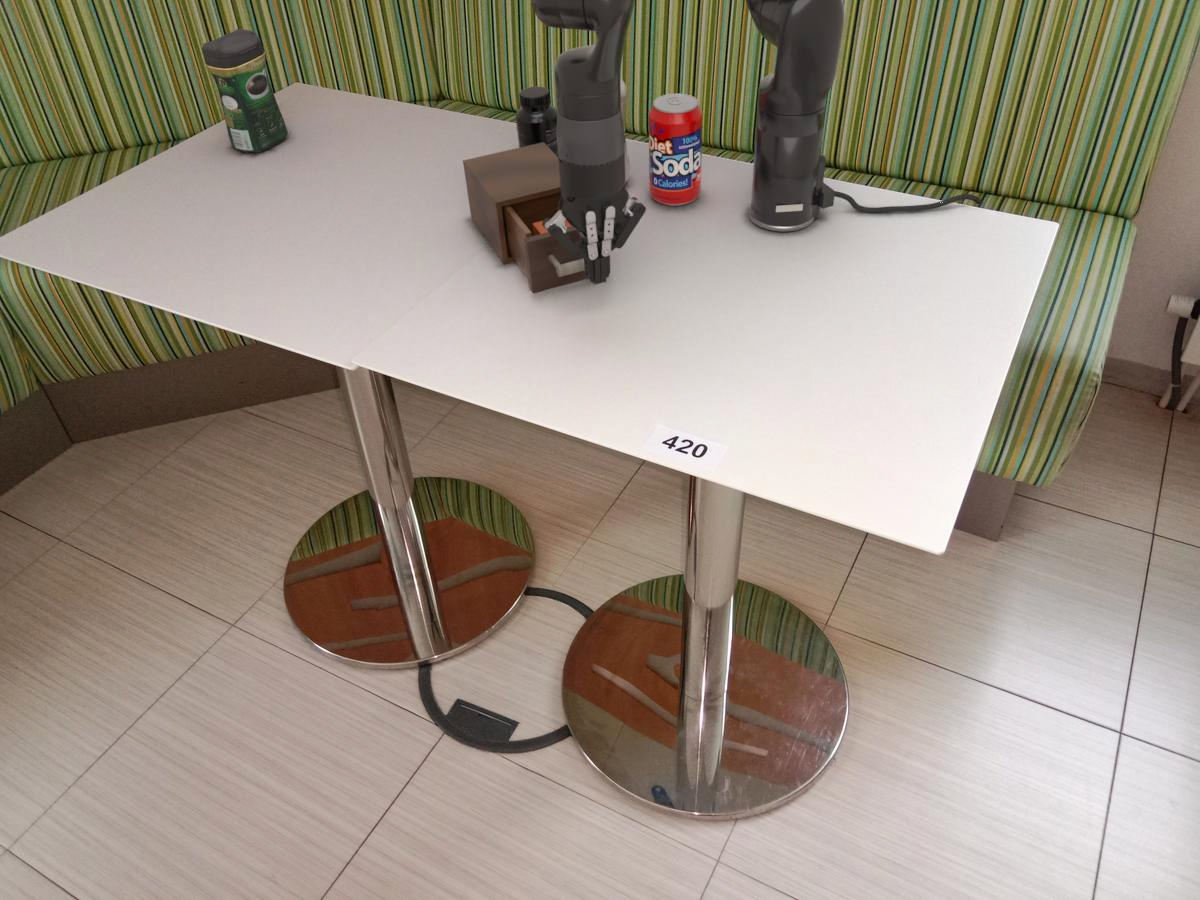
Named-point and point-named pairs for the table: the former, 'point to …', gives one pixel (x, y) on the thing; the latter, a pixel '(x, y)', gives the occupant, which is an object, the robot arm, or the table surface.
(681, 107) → the soda can
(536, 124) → the supplement bottle
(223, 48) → the coffee jar
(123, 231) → the table surface
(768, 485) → the table surface
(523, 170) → the cabinet
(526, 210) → the drawer
